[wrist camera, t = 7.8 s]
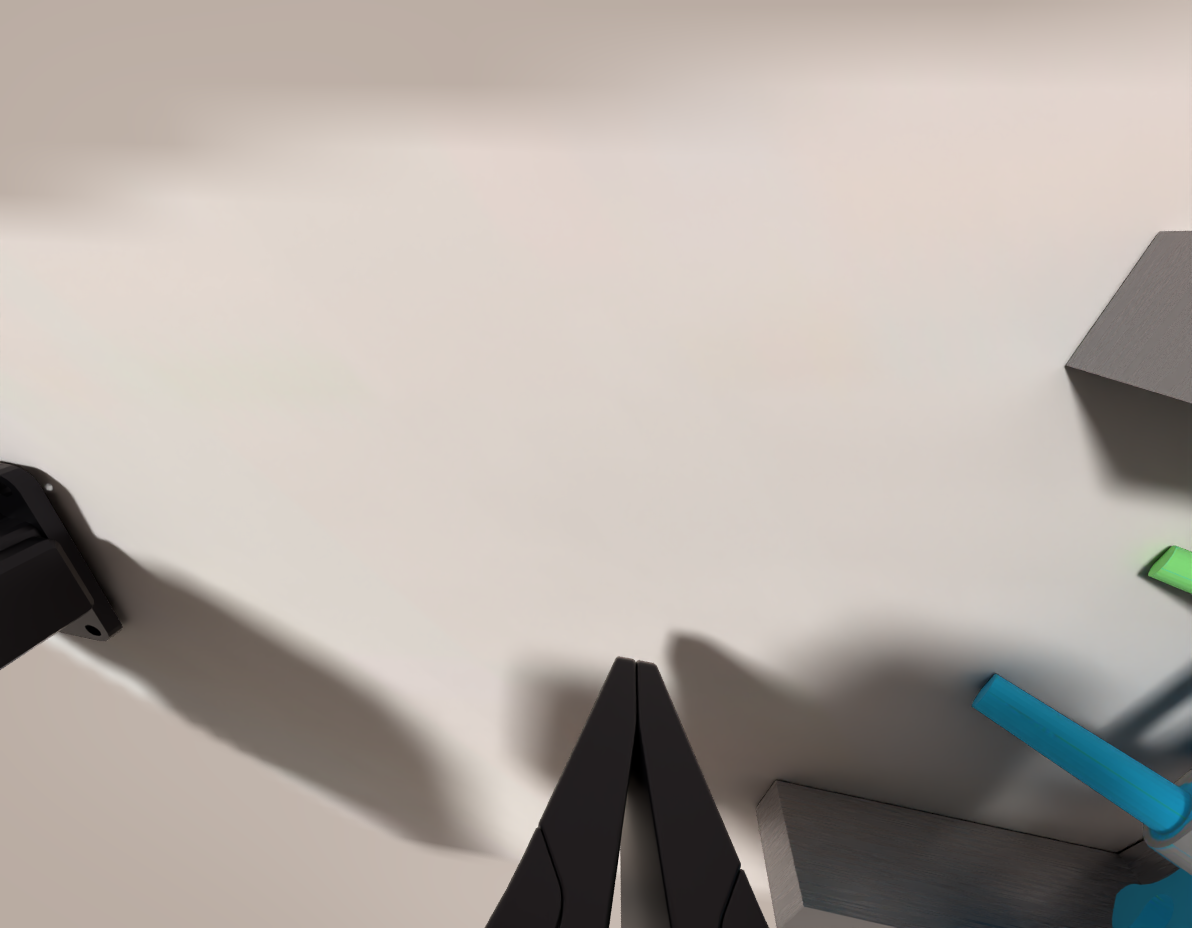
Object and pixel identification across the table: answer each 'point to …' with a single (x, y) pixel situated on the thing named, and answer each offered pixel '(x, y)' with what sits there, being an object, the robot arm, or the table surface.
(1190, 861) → the gear
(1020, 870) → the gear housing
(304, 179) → the table surface
